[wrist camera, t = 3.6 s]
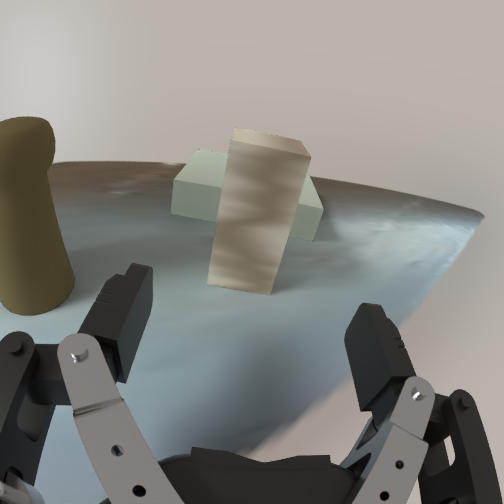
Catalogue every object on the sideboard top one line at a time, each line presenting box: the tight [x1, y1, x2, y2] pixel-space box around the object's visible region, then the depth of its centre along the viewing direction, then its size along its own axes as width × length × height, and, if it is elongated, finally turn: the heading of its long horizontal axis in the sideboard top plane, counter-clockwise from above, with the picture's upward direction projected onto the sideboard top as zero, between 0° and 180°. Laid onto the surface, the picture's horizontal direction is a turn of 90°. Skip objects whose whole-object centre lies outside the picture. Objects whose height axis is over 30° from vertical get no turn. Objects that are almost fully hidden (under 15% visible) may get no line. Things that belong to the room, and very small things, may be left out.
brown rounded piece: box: [0, 117, 75, 315], centre depth 14 cm, size 6×6×11 cm
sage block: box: [171, 149, 324, 242], centre depth 33 cm, size 14×12×4 cm
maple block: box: [207, 128, 311, 295], centre depth 20 cm, size 4×4×10 cm
